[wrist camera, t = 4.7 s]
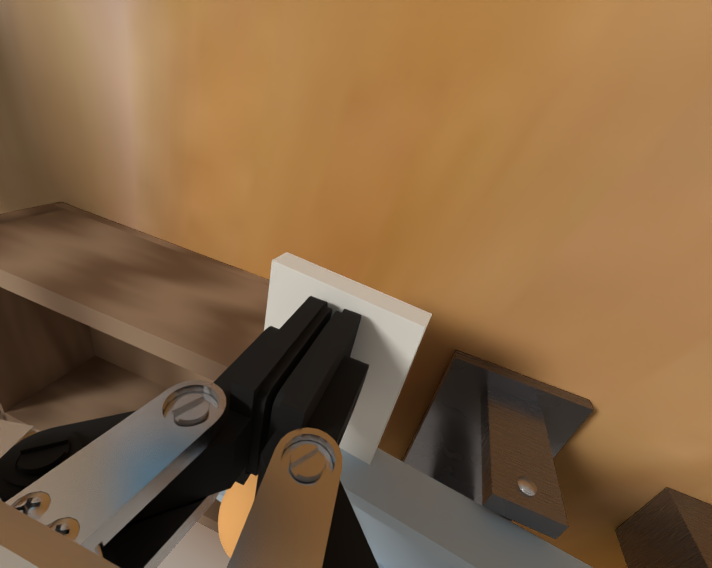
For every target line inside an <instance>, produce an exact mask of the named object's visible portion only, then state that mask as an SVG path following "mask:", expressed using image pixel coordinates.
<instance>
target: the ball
mask: <svg viewBox="0 0 712 568" xmlns="http://www.w3.org/2000/svg"><path fill="white" fill-rule="evenodd" d="M257 478H258V475H257V476H255V475H253V474H250V476H249V478H248V479H247V481H246V482H245V484H244V485H242V484H240V483H237V482H235V483H234V484H233V486H232V487H231V488H230V489H227V490H226V492H225V494H224V496H223V499H222V502H221V505H220V509H219V515H218V531H219V537H220V540H221V543H222V546H223V548H224V550H225V552H226V553H227V555H228V556H229V557H230V558H231V556H232V554H233V551H234V549H235V546H236V544H237V541H238V539H239V536H240V534H241V531H242V529H243V527H244V524H245V522H246V519H247V517H248V514H249V512H250V509H251V507H252V504H253V502H254V499H255V492H256V485H257Z"/></svg>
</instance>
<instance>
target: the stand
mask: <svg viewBox="0 0 712 568" xmlns="http://www.w3.org/2000/svg"><path fill="white" fill-rule="evenodd" d="M592 411H593V408H592V405H591V403H590V400H588V399H585V398H583V397H580V396H577V395H575V394H572V393H569V392H567V391H564V390H561V389H559V388H556V387H553V386H551V385H548V384H545V383H543V382H540V381H537V380H535V379H532V378H529V377H527V376H524V375H521V374H519V373H516V372H513V371H511V370H508V369H505V368H503V367H500V366H497V365H495V364H492V363H489V362H487V361H484V360H481V359H479V358H476V357H473V356H471V355H468V354H465V353H463V352H460V351H457V350H455V353H454V355H453V357H452V359H451V361H450V363H449V365H448V367H447V369H446V371H445V373H444V375H443V377H442V379H441V382H440V384H439V386H438V388H437V390H436V392H435V394H434V396H433V398H432V400H431V402H430V404H429V406H428V408H427V411H426V413H425V415H424V417H423V419H422V421H421V423H420V425H419V427H418V429H417V431H416V433H415V435H414V437H413V440H412V442H411V444H410V446H409V448H408V450H407V452H406V454H405V456H404V458H403V460H402V462H404V463H406V464H408V465H410V466H411V467H413V468H415V469H417V470H419V471H420V472H422V473H424V474H426V475H428V476H429V477H431V478H433V479H435V480H437V481H438V482H440V483H442V484H444V485H446V486H447V487H449V488H451V489H453V490H455V491H456V492H458V493H460V494H462V495H464V496H465V497H467V498H469V499H471V500H473V501H474V502H476V503H478V504H480V505H482V507H484V508H487V509H489V510H491V511H492V512H494V513H496V514H498V515H500V516H501V517H503V518H505V519H507V520H509V521H510V522H511V521H512V520H514V521H516V522H518V523H520V524H523V525H525V526H527V527H529V528H532V529H534V530H536V531H538V532H541V533H543V534H545V535H547V536H550V537H552V538H554V539H556V538H557V537H558V536H560V535H561V534H562V533H563V532H564V531H565V530H566V529H567V528H568V527H569V526H568V522H567V518H566V513H565V509H564V504H563V500H562V496H561V491H560V487H559V482H558V478H557V474H556V469H555V465H554V460H553V458H554V457H555V455H556V454H557V453H558V452H559V451H560V449H561V448H562V447H563V446H564V445H565V444H566V442H567V441H568V440H569V439H570V438H571V436H572V435H573V434H574V433H575V432H576V430H577V429H578V428H579V427H580V426H581V424H582V423H583V422H584V421H585V420H586V419H587V417H588V416H589V415H590V414H591V413H592ZM615 531H616V534H617V537H618V540H619V543H620V546H621V549H622V552H623V555H624V558H625V561H626V564H627V567H628V568H712V505H710V504H707V503H705V502H702V501H700V500H697V499H695V498H692V497H690V496H687V495H685V494H682V493H680V492H677V491H675V490H672V489H670V488H667V487H666V488H665V489H664V490H663V491H662V492H660V493H659V494H658V495H657V496H656V497H654V498H653V499H652V500H651V501H650V502H648V503H647V504H646V505H645V506H644V507H642V508H641V509H640V510H639V511H638V512H637V513H635V514H634V515H633V516H632V517H631V518H629V519H628V520H627V521H626V522H625V523H623V524H622V525H621V526H620V527H619V528H617V529H616V530H615Z"/></svg>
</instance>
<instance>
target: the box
mask: <svg viewBox="0 0 712 568" xmlns="http://www.w3.org/2000/svg"><path fill="white" fill-rule="evenodd" d="M269 282H270V280H268V279H265V278H262V277H260V276H257V275H254V274H252V273H249V272H246V271H244V270H241V269H238V268H236V267H233V266H230V265H228V264H225V263H222V262H220V261H217V260H214V259H212V258H209V257H206V256H204V255H201V254H198V253H196V252H193V251H190V250H188V249H185V248H182V247H180V246H177V245H174V244H172V243H169V242H166V241H164V240H161V239H158V238H156V237H153V236H150V235H148V234H145V233H142V232H140V231H137V230H134V229H132V228H129V227H126V226H124V225H121V224H118V223H116V222H113V221H110V220H108V219H105V218H102V217H100V216H97V215H94V214H92V213H89V212H86V211H84V210H81V209H78V208H76V207H73V206H70V205H68V204H65V203H62V202H57V203H52V204H47V205H42V206H37V207H32V208H27V209H23V210H18V211H13V212H8V213H3V214H0V419H1V420H5V421H11V422H16V423H21V424H26V425H31V426H34V428H35V431H38V432H39V431H43V430H46V429H49V428H53V427H58V426H63V425H67V424H72V423H77V422H82V421H87V420H92V419H97V418H102V417H107V416H111V415H116V414H121V413H126V412H131V411H136V410H138V409H140V408H141V407H143V406H144V405H146V404H147V403H148V402H150V401H151V400H153V399H154V398H156V397H157V396H158V395H160V394H161V393H163V392H164V391H166V390H167V389H169V388H171V387H172V386H174V385H176V384H178V383H182V382H185V381H189V380H204V381H209V382H212V383H213V382H214V381H215V380H216V379H217V378H218V377H219V376H220V375H221V374H222V373H223V372H224V371H225V370H226V369H227V368H228V367H229V366H230V365H231V364H232V363H233V362H234V361H235V360H236V359H237V358H238V357H239V356H240V355H241V354H242V353H243V352H244V351H245V350H246V349H247V348H248V347H249V346H250V345H251V344H252V343H253V342H254V341H255V340H256V339H257V338H258V336H259V335H260V334H261V333H262V332H263V331H264V326H265V317H266V309H267V300H268V291H269ZM220 505H221V502H220V501H219V500H217V499H215V501H214V502H213V503H212V505H211V506H210V507H209V508H208V509H207V510H206V511H205V513H204V514H203V515H202V516H201V517H200V518H199V520H198V521H197V522H199V523H201V524H202V525H204V526H206V527H208V528H210V529H212V530H214V531H216V532H218V533H219V531H218V515H219V509H220Z"/></svg>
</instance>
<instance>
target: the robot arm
mask: <svg viewBox="0 0 712 568" xmlns="http://www.w3.org/2000/svg"><path fill="white" fill-rule="evenodd" d="M331 314H332V309H331V308H329V307H328V303H327V302H326V301H324V300H321V299H318V298H315V297H313V296H310V297H308V298H307V300H306V301H305V302H304V303H303V304H302V305H301V306H300V307H299V308H298V309H297V310H296V311H295V313H294V314H293V315H292V316H291V317H290V318H289V319H288V320H287V321H286V322H285V323H284V325H283V326H282V327H281V328H280V329H278V328H275V327H273V326H270V327H268V328H267V329H265V330H264V331H263V332H262V333H261V334H260V335H259V336H258V338H257V339H256V340H255V341H254V342H253V343H252V344H251V345H250V346H249V347H248V348H247V349H246V350H245V351H244V352H243V353H242V354H241V355H240V356H239V357H238V358H237V359H236V360H235V361H234V362H233V363H232V364H231V365H230V366H229V367H228V368H227V369H226V370H225V371H224V372H223V373H222V374H221V375H220V376H219V377H218V378H217V379H216V380H215V381H214V382H213V383H212V382H209V381H204V380H189V381H185V382H182V383H178V384H176V385H174V386H172V387H171V388H169V389H167V390H166V391H164V392H163V393H161V394H160V395H158V396H157V397H156V398H154V399H153V400H151V401H150V402H148V403H147V404H146V405H144V406H143V407H141V408H140V409H138V410H136V411H131V412H126V413H121V414H116V415H111V416H107V417H102V418H97V419H92V420H87V421H82V422H77V423H72V424H67V425H63V426H58V427H53V428H49V429H46V430H43V431H39V432H38V431H35V428H34V426H31V425H26V424H21V423H16V422H11V421H5V420H0V568H157V567H158V565H159V564H160V563H161V562H162V561H163V560H164V559H165V557H166V556H167V555H168V554H169V553H170V551H172V549H173V548H174V547H175V546H176V545H177V544H178V542H179V541H180V540H181V539H182V538H183V537H184V536H185V534H186V533H187V532H188V531H189V530H190V529H191V527H192V526H193V525H194V524H195V523H196V522H197V521H198V520H199V518H200V517H201V516H202V515H203V514H204V513H205V511H206V510H207V509H208V508H209V507H210V506H211V505H212V503H213V502H214V501H215V499H216V498H217V496H218V495H219V492H221V491H224V490H227V489H230V488H231V487H232V486H233V484H234V483H235V482H237V483H240V484H242V485H244V484H245V482H246V481H247V479H248V478H249V476H250V474H253V475H255V476H257V475H258V478H257V485H256V492H255V499H254V502H253V504H252V507H251V509H250V512H249V514H248V517H247V519H246V522H245V524H244V527H243V529H242V531H241V534H240V536H239V539H238V541H237V544H236V546H235V549H234V551H233V554H232V556H231V559H230V561H229V563H228V566H227V568H379V566H378V564H377V562H376V560H375V557H374V555H373V553H372V551H371V548H370V546H369V544H368V542H367V539H366V537H365V535H364V533H363V530H362V528H361V526H360V524H359V521H358V519H357V517H356V514H355V512H354V510H353V508H352V505H351V503H350V501H349V499H348V496H347V494H346V492H345V490H344V487H343V485H342V483H341V481H340V476H341V471H342V460H343V457H342V454H341V450H340V447H339V445H340V443H341V440H342V438H343V435H344V433H345V430H346V428H347V425H348V423H349V421H350V418H351V416H352V413H353V411H354V408H355V406H356V403H357V400H358V398H359V395H360V392H361V390H362V387H363V384H364V381H365V378H366V375H367V372H368V369H369V364H366V363H364V362H361V361H359V360H356V359H353V358H351V357H350V355H351V352H352V348H353V345H354V342H355V338H356V335H357V331H358V328H359V324H360V321H361V316H362V315H361V314H358V313H356V312H353V311H350V310H348V309H344V310H343V311H342V312H339V311H336V312H335V313H334V314H333V316H332V317H331Z"/></svg>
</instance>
